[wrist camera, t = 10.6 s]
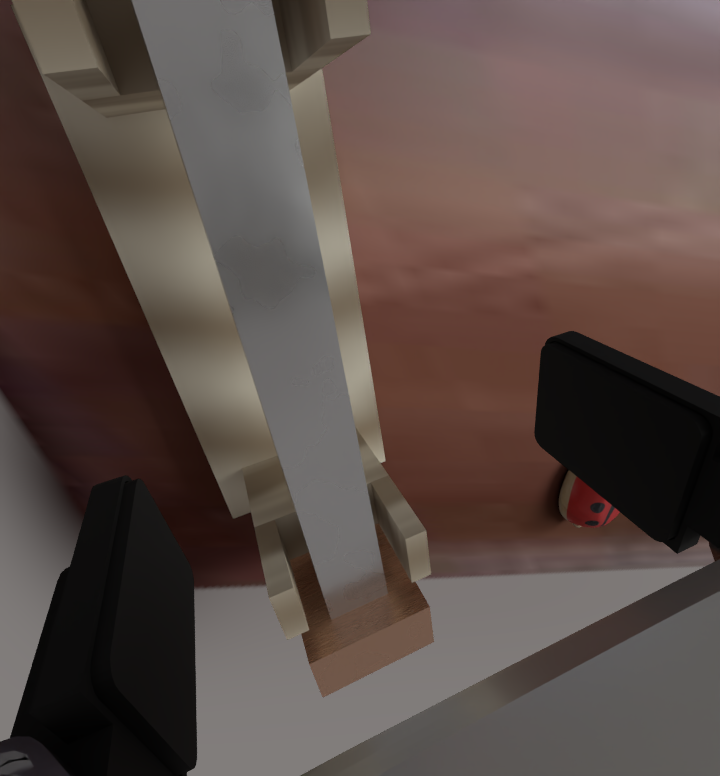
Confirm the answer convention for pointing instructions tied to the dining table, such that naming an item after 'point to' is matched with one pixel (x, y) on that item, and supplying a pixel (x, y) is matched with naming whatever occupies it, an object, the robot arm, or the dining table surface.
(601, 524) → the ladybug figurine
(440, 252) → the dining table surface
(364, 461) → the hanger stand
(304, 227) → the steel bar
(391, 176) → the dining table surface
